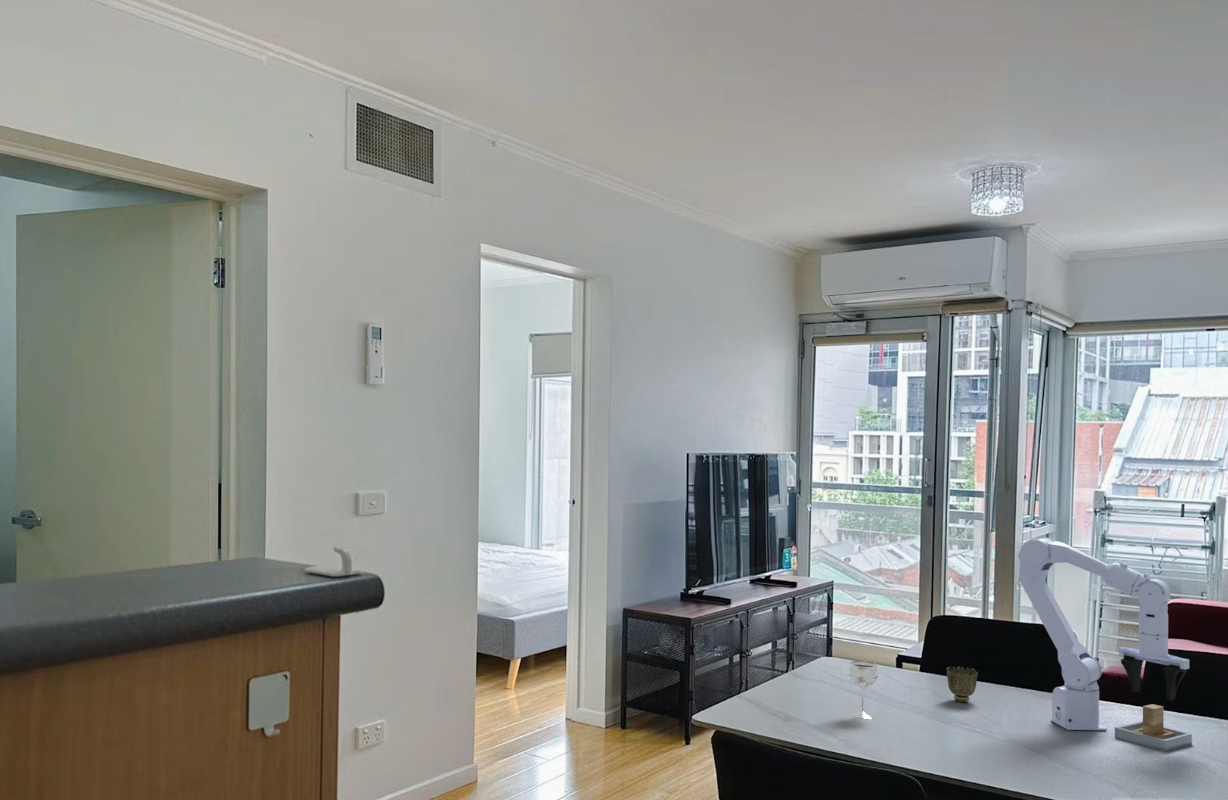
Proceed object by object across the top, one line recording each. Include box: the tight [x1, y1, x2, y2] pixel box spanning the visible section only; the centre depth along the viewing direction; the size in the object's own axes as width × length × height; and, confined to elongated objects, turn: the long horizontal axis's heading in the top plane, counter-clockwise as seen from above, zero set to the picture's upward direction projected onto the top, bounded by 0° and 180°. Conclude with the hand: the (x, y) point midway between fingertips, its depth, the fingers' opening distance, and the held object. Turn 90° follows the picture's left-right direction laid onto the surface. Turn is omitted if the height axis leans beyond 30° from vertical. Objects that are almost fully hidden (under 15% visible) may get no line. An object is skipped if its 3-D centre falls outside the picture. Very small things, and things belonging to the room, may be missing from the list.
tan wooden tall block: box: [1142, 703, 1165, 736], centre depth 211 cm, size 2×4×7 cm, turn 122°
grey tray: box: [1114, 720, 1193, 752], centre depth 211 cm, size 11×11×2 cm
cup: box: [946, 666, 979, 704], centre depth 240 cm, size 8×7×8 cm
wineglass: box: [848, 660, 879, 719], centre depth 224 cm, size 7×7×12 cm
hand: (1153, 695), depth 212 cm, fingers open, 7 cm apart
